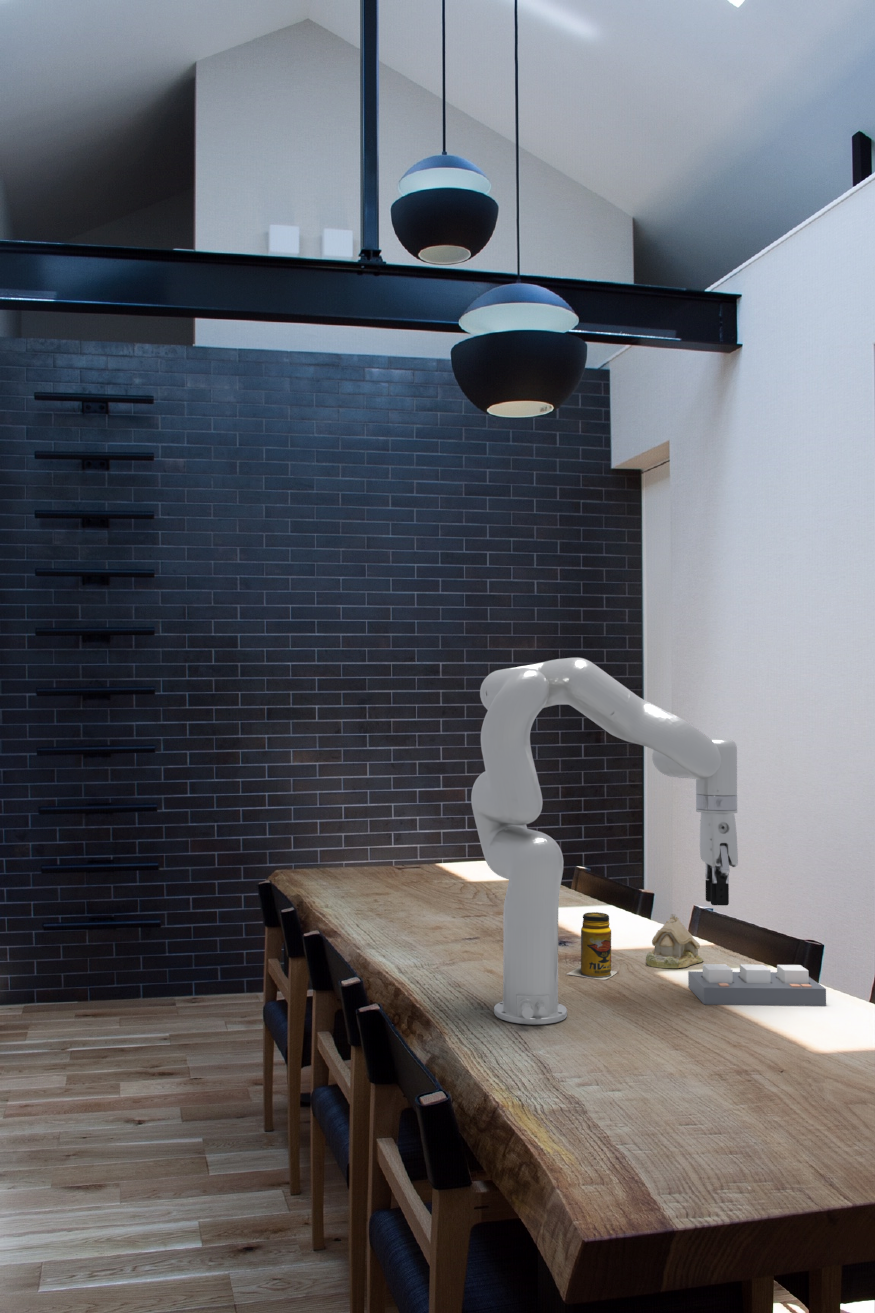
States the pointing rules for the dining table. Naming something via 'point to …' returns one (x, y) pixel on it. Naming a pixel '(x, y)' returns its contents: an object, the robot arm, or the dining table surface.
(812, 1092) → the dining table surface
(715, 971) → the key
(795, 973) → the key
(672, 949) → the ceramic model
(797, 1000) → the keypad
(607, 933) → the condiment
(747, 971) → the key
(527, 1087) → the dining table surface
